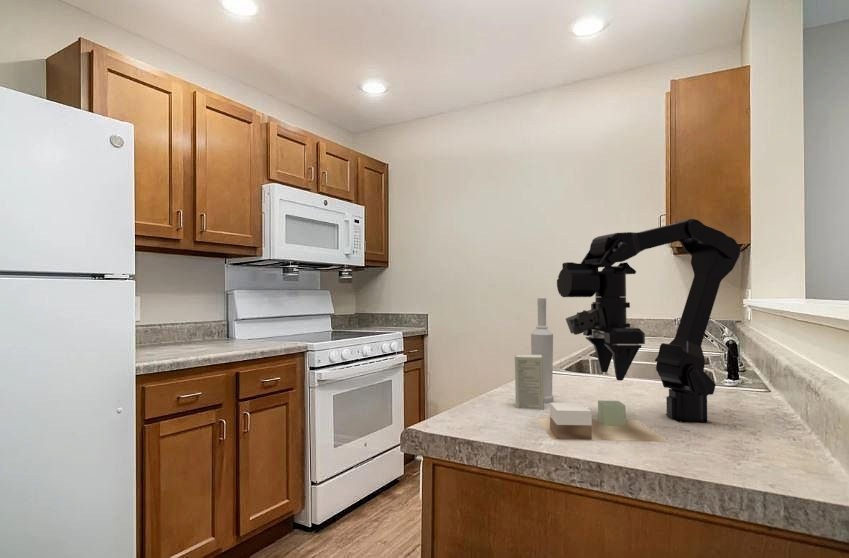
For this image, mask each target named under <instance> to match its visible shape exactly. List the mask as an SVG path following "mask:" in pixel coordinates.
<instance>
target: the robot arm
mask: <svg viewBox="0 0 849 558" xmlns="http://www.w3.org/2000/svg"><path fill="white" fill-rule="evenodd" d="M676 242H679V243H680V245H681V247H682V250H684V252H686V253H688V255H689V256H691V260H690V265H691V268H692V272H693V279H692V283H691V286H690V289H689V291H688V294H687V295H688V296H687V298H686V301H685V305H684V308H683V310H682V314H681V317H680V320H679V323H678V327H677V330H676V333H675V336H674V339H672V340H671V341H670V343H663V342H662V343H661V344H660V345H659V349H658V354H657V357H655V359H654V362H656V365H655V371H656V372H657V375H658V377H660V381H661V382H662V386H663V388H666V389H667V388H668V395H667V396H666V413H665V416H666V417H668V418H670V419H672V420H674V421H676V422H677V423H681V424H682V423H685V424H689V423H690V424H693V423H694V424H712V423H713V422H712V421H711V420H708V396H711V395H714V394H715V389H716V386H717V385H716V383H715V382H714V381H713V379H712V378H711V377H710V376H709V375H708V374H707V373H706V372H705V371H704V370H705V364H706V359H705V355H704V352H703V349H702V348H703V347H702V344H703V341H704V338H705V334H706V330H707V329H708V328H707V327H708V324H709V321H710V317H711V315H712V311H713V308H714V305H715V301H716V299H717V298H716V297H717V295H718V292H719V289H720V286H721V282H722V281H723V280H724V279H725V278H726V277H727V275H729V273H731V272H732V271H733V269H734V268H735V266H736V263H737V262H738V260H739V258H740V255H741V247H740V245H739V244H738V242H737V241H736V239H735V238H733V237H732V236H728V235H727V234H726V233H724V232H723V231H720V230H719V229H716V228H712V227H710V226H707V225H705V224H704V223H703V222H701V221H700V220H698V219H695V218H688V219H684V220H678V221H676V222H674V223H671V224H666V225H663V226H658V227H655V228H650V229H646V230H642V231H638V232H633V231H632V232H630V231H629V232H626V231H625V232H615V233H611V234H610V233H609V234H605V235H599V236H596V237H594V238H593V239H592V241H591V243H590V245H589V250H588V251H587V253H586V255H585V256H584V258H583V259H582V260H581V262H580V263H577V262H563V263H562V267H561V268H562V269H561V270H560V272H559V274H558V276H557V280H556V288H557V291H558V294H559V295H560V297H562V298H592V297H593V296H594V297H595V301H592V303H591V304H590V309H589V310H588V309H587V310H582V311H580V312H576V314H574V315H572V316H569V317H566V318H565V321H566V324H567V326H568V329H569V331H570V334H573V335H574V336H575V335H580V334H583V336H586V337H585V339H586V340H587V341H588V342H590V343H591V345H593V347H594V350H595V353H596V357H597V360H598V365H599V368H600V372H602V373H607V372H608V371H609V369H610V365H611V362H612V360H613V368H614V369H613V370H614V373H615V374H614V375H615V378H616V381H623V380H624V379H625V377H626V376H627V373H628V371H629V369H630V366H631V365H632V363H633V361H634V359H635V357H636V355H638V354H637V353H638V352H639V350H640V349H642V347H643V346H642V345H644V344H646V338H645V337H646V336H645V335H646V333H644V331H643V330H642V329H641V328H640V327H635V326H631V323H627V309H628V308H629V309H630V308H631V305H630V304H631V303H630V302H629V301H628V302H627V276H626V275H635V274H636V273H637V270H636V269H634V268H633V267H631V265H630V264H629V263H628V262H625V261H627V260H630V259H631V258H634V257H635V256H637V255H638V254H639V253H641V252H643V251H646V250H649V249H652V248H656V247H661V246H663V245H668V244H671V243H676ZM616 263H619V264H618V265H615V264H616ZM599 268H602V269H601V270H599Z"/></svg>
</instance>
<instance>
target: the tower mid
mask: <svg viewBox="0 0 849 558" xmlns="http://www.w3.org/2000/svg"><path fill="white" fill-rule="evenodd" d="M592 413H593V412H592V410H591V409H590V408H589V407H587V406H586V405H585V404H584V403H582V402H552V403H549V418H550V417H551V418H552V419H553V420H554V422H555V423H556V424H557V425H592V419H593V418H592Z"/></svg>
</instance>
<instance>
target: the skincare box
mask: <svg viewBox="0 0 849 558" xmlns="http://www.w3.org/2000/svg"><path fill="white" fill-rule="evenodd" d="M514 377H515V378H514V380H515V383H514V384H515V387H514V388H515V408H516V409H524V410H525V409H529V410H544V408H545V407H544V404H545V403H544V397H543V356H542V355H531V354H519V353H517V354H515V355H514Z"/></svg>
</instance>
